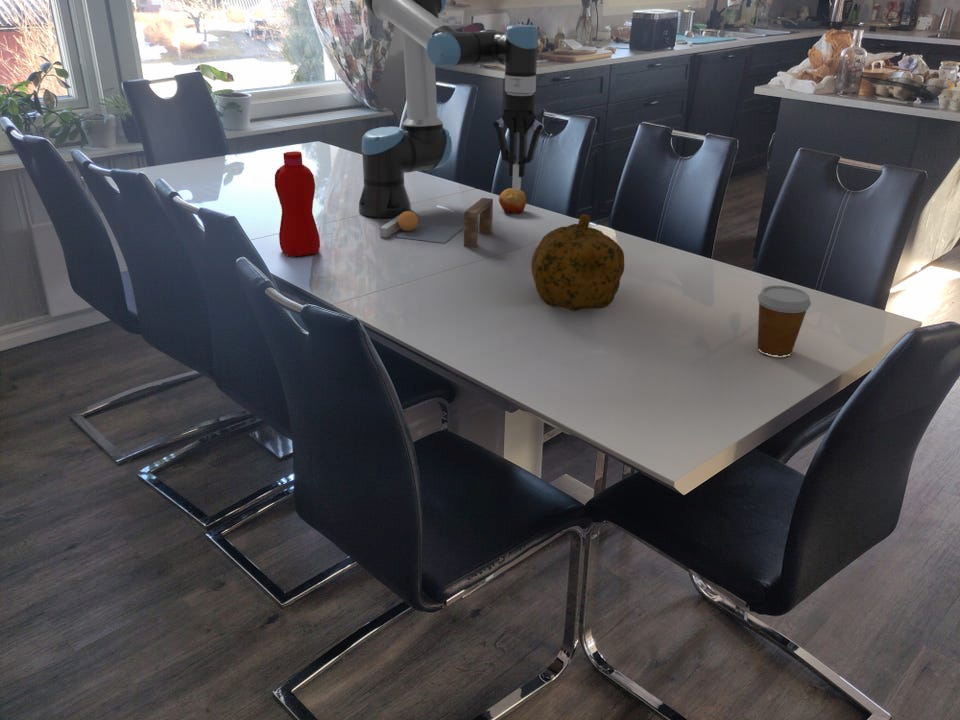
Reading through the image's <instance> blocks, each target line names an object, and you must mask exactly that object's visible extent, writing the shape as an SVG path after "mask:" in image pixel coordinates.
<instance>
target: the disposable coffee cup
mask: <svg viewBox="0 0 960 720" xmlns="http://www.w3.org/2000/svg"><path fill="white" fill-rule="evenodd" d="M757 300H758V303H759V306H758V324H757V325H758V326H757V327H758V329H757V346H758V349H760V350H761V351H762V352H764V353H768V354H771V355H778V356H783V355H788V354H790V353H791V352H793V351H794V347H795V344H796V342H797V339H798V336H799V333H800V331H801V327H802V325H803V322H804V319H805V316H806V314H807V310H808V309H809V307H811V306H812V302H811V300H810V295H809V293H808V292H806V291H804V290H803V289H799V288H797V287H793V286H789V285H788V286H787V285H768V286H765V287H763V288H762V289H761V291H760V293H759V294H758V295H757ZM758 349H757V350H758ZM791 354H792V353H791Z"/></svg>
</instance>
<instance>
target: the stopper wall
mask: <svg viewBox="0 0 960 720" xmlns="http://www.w3.org/2000/svg"><path fill="white" fill-rule="evenodd" d="M400 215H401V214H400ZM400 215H399V216H400ZM399 216H397V217H393V219H391V220H390V221H388V222H387V223H385V224H383V225H382V226H380V227H379V237H380V236H381V237H380V238H385V237H387V238H388V236H389V237H390V236H392V235H393V234H394V232H395V231H396V232H397V231H399V230H400V229H401V228H400V226H399V224H398V218H399ZM398 229H399V230H398ZM396 232H395V233H396ZM391 234H392V235H391Z"/></svg>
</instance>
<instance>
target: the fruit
mask: <svg viewBox="0 0 960 720" xmlns="http://www.w3.org/2000/svg"><path fill="white" fill-rule="evenodd" d="M498 202H499V205H500V206H501V209H502V210H503V212H504V213H505V214H521V213H522V212H524V210H525V208H526V206H527V195H526V193H525V192H524V191H523V190H521V188H520V189H519V190H518V191H515V190H512V187H511V188H510V187H509V188H506V189H504V190H503V191H502V192H501V193H500V194H499V197H498Z"/></svg>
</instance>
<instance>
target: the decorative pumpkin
mask: <svg viewBox="0 0 960 720" xmlns="http://www.w3.org/2000/svg"><path fill="white" fill-rule="evenodd" d="M590 221H591V216H590V215H588V214H581V215H580V216H579V219H578V223H573V224H570V225H567V226H560V227H558V228H554V229H553V230H551V231H549V232H548V233H547V234H545V235H544V236H543V237H542V238H541V240H540V242H539V243H538V245H537V247H536V248H535V250H534V252H533V255H532V257H531V265H530V267H531V274H532V278H533V282H534V286H535V288H536V292H537V294H538V295H539V297H540V298H541V300H542V301H543V302H544V304H546V306H550V307H553V308H563V309H568V310H570V311H572V312H578V311H583V310H584V311H585V310H593V309H594V310H595V309H603V308H606V307H608V306H610V304H611V303H612V302H613V301H614V299H615V296H616V294H617V293H618V292H619V289H620V282H621V278H622V276H623V273H624V272H625V254H624V250H623V249H622V247H621V246H620V245H619V244H618V243H617V242H616V241H615V240H614V239H612V238H611V237H610V236H608V235H607V234H604V233H603V232H602V231H601V230H599V229H597V228H595V227H594V228H593V227H589V225H590Z"/></svg>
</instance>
